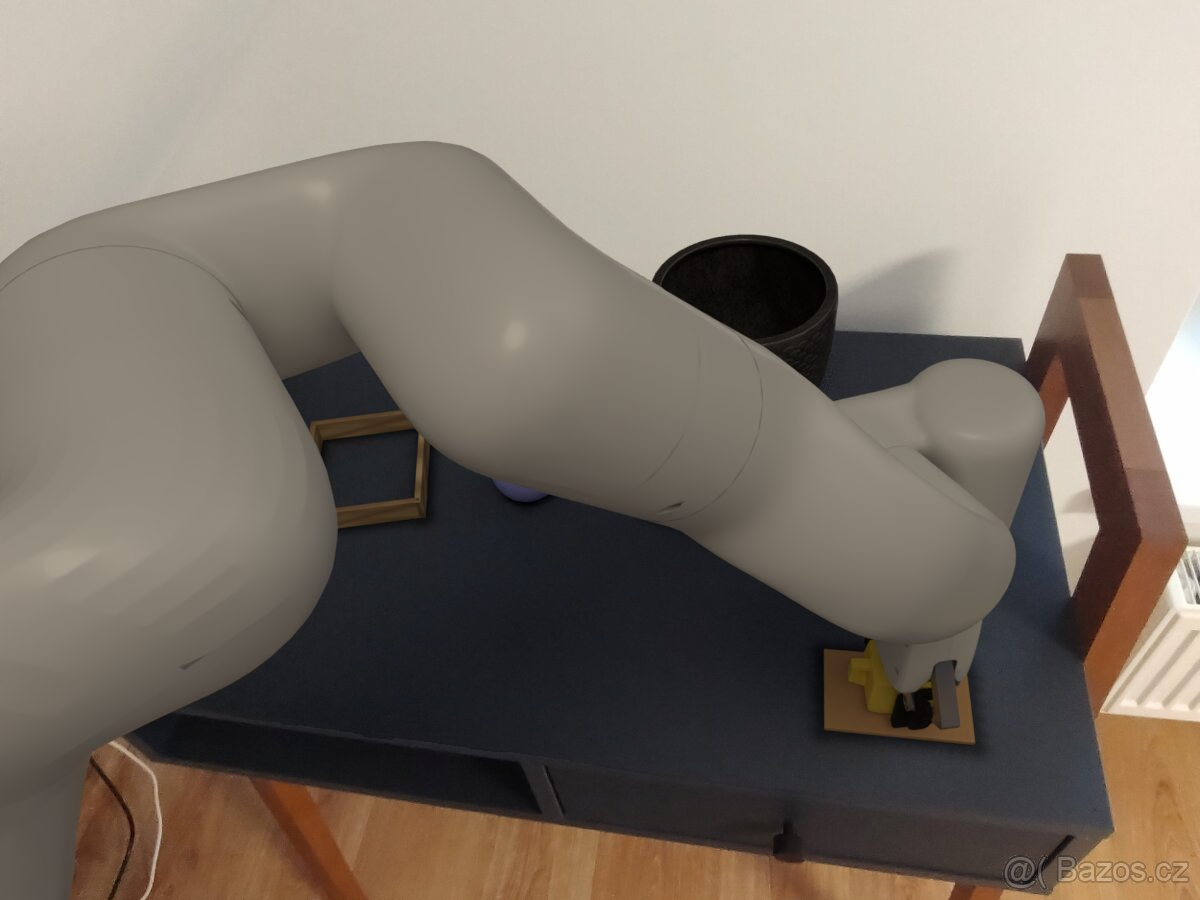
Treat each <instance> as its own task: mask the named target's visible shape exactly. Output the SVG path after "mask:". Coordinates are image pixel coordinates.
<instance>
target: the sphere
mask: <svg viewBox="0 0 1200 900" xmlns="http://www.w3.org/2000/svg"><path fill="white" fill-rule="evenodd" d="M491 480H492V483H493V484H494V486H495V487H496V488H497V489H498V490H499V492H500V493H501V494H502V495H504V496H505V497H507V498H509V499H511V500H513V501H517V502H521V503H527V502H529V503H530V502H536V501H538V500H542V499H543V498H544V497H547V496H549V494H547V493H543V492H539V491H535V490H532V489H528V488H524V487H520V486H517V485H513V484H510V483H506V482H503V481H500V480H496V479H493V478H491Z"/></svg>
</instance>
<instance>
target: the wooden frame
mask: <svg viewBox="0 0 1200 900" xmlns="http://www.w3.org/2000/svg"><path fill="white" fill-rule="evenodd" d="M406 430H416V429H415V428H414V427H413V426H412V424H411V423H410V422H409V421H408V419H407V418H406V417H405V415H404V414H403V413H402V411H401V410H400V409H399V410H398V409H397V410H392V411H384V412H383V411H382V412H376V413H367V414H360V415H353V416H345V417H336V418H328V419H322V420H313V421H311V422H310V427H309V431H310V433H311V435H312V437H313V439H314V441H315V443H316V445H317V447H318V450H319V452H320V455H321V454H322V448H323V443H324V441H328V440H337V439H338V440H339V439H345V438H353V437H360V436H361V437H362V436H367V435H368V436H369V435H376V434H384V433H391V432H400V431H406ZM430 450H431V444H430V443H428V442H427V441H426V440H425V439H424V438H423V437H422V436H421V435H420V434H419V433H418V440H417V454H416V469H415V483H414V497H411V498H402V499H394V500H388V501H387V500H385V501H379V502H370V503H364V504H356V505H355V504H354V505H347V506H340V507H336V512H337V522H338V529H344V528H353V527H361V526H367V525H375V524H381V523H382V524H383V523H391V522H399V521H406V520H414V519H425V518H427V502H428V486H429V485H428V483H429V469H430V468H429V467H430ZM321 456H322V455H321Z"/></svg>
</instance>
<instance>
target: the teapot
mask: <svg viewBox="0 0 1200 900" xmlns="http://www.w3.org/2000/svg"><path fill="white" fill-rule="evenodd" d="M863 652H864V654H863V658H851V661H850V665H849V668H848V681H850V682H853V683H856V684H860V685H863V686H864V690H865V697H866V704H867V709H868V711H871V712H878V713H889V714H892V712H893V708H894V705H895V701H896V698H897V695H898V694H901V693H900V692H898V691H897V690H896V689H895V688H894V687H893V686H892V685H891V683H890V682H889V680H888V677H887V675H886V672H885V670H884V667H883V664H882V661H881V658H880V656H879V653H878V650H877V647H876V644H875V641H874V640H870V641H869V643H868V645H867V647H866V646H865V649H864V651H863ZM924 688H931V682H927V683H925V684H924V685H923V686H922V687H921V688H920V689H924Z"/></svg>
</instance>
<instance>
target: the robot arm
mask: <svg viewBox="0 0 1200 900" xmlns="http://www.w3.org/2000/svg"><path fill="white" fill-rule="evenodd" d="M360 352H361V353H362V355H363V356H364V358H365V360H366V361H367V363H368V364H369V365H370V367H371V369H372V370H373V371H374V373H375V374H376V376H377V377H378V379H379V380H380V383H382V385H383V386H384V388H385V390H386V391H387V393H388V394H389V395H390V397H391V398H392V400H393V401H394V403H395V404H396V406H397V407H398V409H399V410H401V411H402V413H403V414H404V415H405V417H406V418H407V419H408V421H409V422H410V423H411V424H412V426H413V427H414V428H415V429H414V430H415V431H416V432H417V433H418V435H419V434H420V435H421V436H422V437H423V438H424V439H425V440H426V441H427V442H428V443H430V446H432V447H433V448H434V449H435V450H437V452H439V453H441V454H442V455H443V456H444V457H446V458H447V459H449V460H450V461H452V462H454V463H455V464H457V465H459V466H461V467H462V468H465V469H467V470H469V471H471V472H473V473H476V474H478V475H481V476H484V477H487V478H489V479H492V478H493V479H496V480H500V481H503V482H506V483H510V484H513V485H517V486H520V487H524V488H528V489H532V490H535V491H539V492H543V493H547V494H548V495H551V496H554V497H558V498H561V499H565V500H569V501H572V502H577V503H580V504H584V505H588V506H592V507H595V508H599V509H603V510H605V511H609V512H614V513H618V514H621V515H625V516H628V517H632V518H636V519H638V520H641V521H642V520H643V521H646V522H650V523H654V524H657V525H661V526H665V527H669V528H672V529H673V530H677V531H679V532H681V533H683V534H684V535H686V536H688V537H689V538H691V539H692V540H694V542H696V543H697V544H698V545H700V546H701V547H703V548H704V549H706V550H708V552H711V553H712V554H714V555H715V556H716V557H719V558H720V559H721V560H723V561H725V562H726V563H728V564H730V565H732V566H733V567H735V568H737V569H738V570H740V571H742V572H743V573H745V574H748V575H749V576H750V577H752V578H754V579H756V580H757V581H759V582H761V583H763V584H765V585H766V586H768V587H770V588H771V589H773V590H774V591H777V592H779V593H780V594H781V595H783V596H785V597H787V598H788V599H790V600H791V601H793V602H795V603H797V604H799V605H800V606H802V607H803V608H805V609H806V610H808V611H810V612H812V613H813V614H815V615H816V616H819V617H821V618H822V619H824V620H825V621H827V622H829V623H832V624H833V625H835V626H836V627H837V626H838V627H839V628H841V629H843V630H846V631H848V632H850V633H852V634H855V635H857V636H860V637H863V638H864V639H863V641H864V645H865V648H866V647H867V645H868V643H869V641H870V640H874V641H875V644H876V647H877V650H878V653H879V656H880V658H881V661H882V664H883V667H884V670H885V672H886V675H887V677H888V680H889V682H890V683H891V685H892V686H893V687H894V688H895V689H896V690H897V691H898V692H900V693H901V694H898V695H897V698H896V701H895V705H894V708H893V712H892V716H891V719H890V721H891V724H892V727H893V728H902V727H908V729H910V730H920V729H924V728H927V727H928V726H929V725H930V724H932V723H933V724H934V725H935V726H937V727H938V728H939V729H940V730H943V729H951V728H959V727H960V720H959V711H958V703H957V694H956V686H959V685H960V684H961V683H962V681H963V680H964V679H965V677H966V675H967V676H968V673H969V671H970V668H971V666H972V663H973V660H974V658H975V654H976V650H977V647H978V642H979V639H980V635H981V630H982V625H983V620H984V619H985V617H986V616H987V615H989V614H990V613H991V612H992V611H993V610H994V608H995V607H996V606H997V605H998V604H999V602H1000V601H1002V600H1001V599H1002V598H1003V597H1004V595H1005V593H1006V592H1007V590H1008V588H1009V587H1010V583H1011V581H1012V579H1013V576H1014V572H1015V568H1016V563H1017V562H1016V561H1017V551H1016V544H1015V540H1014V538H1013V534H1012V532H1011V527H1012V525H1013V520H1014V519H1015V515H1016V513H1017V509H1018V507H1019V504H1020V501H1021V498H1022V496H1023V493H1024V490H1025V487H1026V484H1027V481H1028V479H1029V476H1030V473H1031V471H1032V468H1033V466H1034V462H1035V460H1036V457H1037V455H1038V452H1039V449H1040V446H1041V444H1042V441H1043V436H1044V433H1045V430H1046V411H1045V406H1044V402H1043V400H1042V398H1041V396H1040V394H1039V392H1038V391H1037V390H1036V388H1035V387H1034V385H1033V384H1032V383H1031V382H1030V381H1029V380H1027V378H1025V377H1024V376H1023V375H1021V374H1020V373H1018V372H1017V371H1015V370H1013V369H1011V368H1009V367H1008V366H1006V365H1003V364H1000V363H997V362H994V361H989V360H985V359H981V358H980V359H979V358H963V357H962V358H961V357H960V358H953V359H947V360H941V361H939V362H937V363H934V364H931V365H929V366H928V367H926V368H924V369H923V370H922V371H920V372H919V373H918V374H917V375H916V376H914V378H913V379H912V380H910V381H909V382H907V383H903V384H899V385H895V386H892V387H888V388H885V389H881V390H877V391H872V392H869V393H864V394H859V395H855V396H850V397H845V398H840V399H837V400H832V399H831V398H830V397H828V395H827V394H826V393H824V392H823V391H822V390H821V389H820V388H819V389H818V388H817V387H816V386H815V385H813V384H812V383H811V382H810V381H808V380H807V379H806V378H805V377H803V376H802V375H801V374H800V373H798V372H797V371H796V370H794V369H793V368H792V367H791V366H789V365H788V364H787V363H785V362H784V361H783V360H782V359H780V358H779V357H778V356H776V355H775V354H773V353H772V352H771V351H769V350H768V349H767V348H765V347H763V346H762V345H760V344H758V343H756V342H754V341H753V340H751V339H749V338H747V337H746V336H744V335H742V334H740V333H739V332H737V331H735V330H733V329H732V328H730V327H728V326H727V325H725V324H723V323H721V322H719V321H717V320H715V319H713V318H712V317H710V316H708V315H707V314H705V313H703V312H702V311H700V310H698V309H696V308H695V307H693V306H691V305H690V304H688V303H686V302H684V301H683V300H681V299H679V298H678V297H676V296H674V295H672V294H671V293H669V292H667V291H666V290H664V289H663V288H662V287H660V286H659V285H657V284H655V283H654V282H652V280H650V279H649V278H647V277H645V276H644V275H641V274H640V273H638V272H636V271H635V270H634V269H631V268H630V267H628V266H626V265H625V264H623V263H621V262H620V261H618V260H616V259H615V258H613V257H611V256H609V255H608V254H606V253H605V252H603V251H602V250H601V249H599V248H598V247H596V246H595V245H593V244H592V243H591V242H589V241H587V240H586V239H585V238H583V237H582V236H581V235H580V234H578V233H576V232H575V231H574V230H572V229H571V228H570V227H568V226H567V225H566V224H565V223H564V222H562V220H560V218H558V217H557V216H556V215H555V214H553V212H551V211H550V210H549V209H548V208H547V207H545V206H544V205H543V204H542V203H541V202H540V201H539V200H538V199H537V198H535V196H533V195H532V193H530V192H529V191H528V190H527V189H526V188H525V187H523V186H522V185H521V184H520V183H519V182H518V181H517V180H515V179H514V177H512V175H510V174H509V173H508V172H507V171H506V170H504V169H503V168H502V167H501V166H500V165H498V163H496V162H495V161H494V160H492V159H491V158H489V157H488V156H486V154H483V153H480V152H478V151H476V150H473V149H472V148H470V147H467V146H465V145H461V144H456V143H450V142H444V141H438V140H437V141H436V140H435V141H434V140H414V141H413V140H412V141H404V142H392V143H383V144H374V145H369V146H363V147H358V148H353V149H348V150H347V149H346V150H343V151H342V150H341V151H337V152H333V153H328V154H324V155H318V156H316V157H315V156H314V157H310V158H306V159H302V160H297V161H294V162H289V163H285V164H280V165H277V166H273V167H269V168H265V169H260V170H257V171H253V172H249V173H245V174H241V175H236V176H233V177H229V178H223V179H220V180H217V181H212V182H207V183H204V184H200V185H199V184H198V185H195V186H192V187H187V188H183V189H180V190H175V191H171V192H167V193H163V194H159V195H158V194H157V195H155V196H151V197H146V198H142V199H138V200H134V201H129V202H126V203H121V204H118V205H114V206H111V207H107V208H103V209H100V210H97V211H93V212H89V213H85V214H83V215H80V216H77V217H74V218H72V219H70V220H69V219H68V220H67V221H65V222H63V223H60V224H59V225H56V226H54V227H52V228H50V229H47V230H45V231H43V232H41V233H39V234H37V235H35V236H33V237H32V238H29V239H28V240H27V241H26V242H24V243H23V244H21V246H19V247H17V248H16V249H15V250H14V251H13V252H11V253H10V254H9V255H8V256H6V257H5V258H4V259H3V260H2V261H0V900H70V899H71V895H72V889H73V882H74V875H75V869H76V857H77V856H76V854H77V840H78V839H77V837H78V830H79V824H80V818H81V817H80V816H81V812H82V811H81V809H82V803H83V795H84V790H85V783H86V782H85V781H86V776H87V772H88V768H89V765H90V761H91V757H92V754H93V753H94V752H95V751H97V750H98V749H100V748H102V747H104V746H106V745H108V744H110V743H111V742H114V741H115V740H117V739H119V738H122V737H123V736H126V735H127V734H129V733H131V732H133V731H135V730H137V729H140V728H141V727H144V726H146V725H147V724H149V723H151V722H153V721H156V720H158V719H160V718H162V717H164V716H166V715H169V714H171V713H173V712H175V711H177V710H179V709H181V708H182V709H183V708H184V707H186V706H188V705H190V704H192V703H194V702H197V701H199V700H201V699H203V698H205V697H207V696H208V697H209V696H210V695H213V694H214V693H216V692H218V691H220V690H223V689H224V688H226V687H228V686H229V685H232V684H234V683H235V682H236V681H238V680H240V679H242V678H243V677H245V676H247V675H248V674H250V673H251V672H253V671H254V670H255V669H257V668H258V667H260V666H261V665H262V664H264V662H266V661H268V660H269V659H270V658H271V657H272V656H274V655H275V654H276V653H277V652H278V651H279V650H280V649H281V648H283V646H284V645H286V644H287V643H288V642H289V641H290V640H291V639H292V638H293V636H294V635H296V633H297V632H298V631H299V629H300V628H301V627H302V626H303V625H304V624H305V623H306V622H307V620H308V618H309V617H311V614H312V613H313V611H314V609H315V608H316V606H317V604H318V603H319V600H320V598H321V596H322V594H323V593H324V590H325V589H326V587H327V584H328V583H329V580H330V577H331V574H332V571H333V569H334V564H335V558H336V551H337V544H338V533H339V531H338V529H339V528H338V522H337V512H336V508H337V506H336V503H335V498H334V494H333V490H332V486H331V481H330V478H329V474H328V470H327V467H326V465H325V463H324V459H323V458H322V455H320V452H319V450H318V447H317V445H316V443H315V441H314V439H313V437H312V435H311V433H310V429H309V428H308V426H307V424H306V422H305V420H304V418H303V416H302V415H301V413H300V411H299V409H298V407H297V405H296V404H295V402H294V400H293V398H292V396H291V395H290V393H289V391H288V390H287V388H286V386H285V384H284V382H283V381H284V380H287V379H289V378H290V379H291V378H294V377H296V376H299V375H301V374H304V373H307V372H309V371H312V370H315V369H317V368H321V367H323V366H326V365H329V364H332V363H335V362H337V361H340V360H343V359H345V358H348V357H351V356H353V355H355V354H357V353H360ZM927 682H931V688H924V689H920V688H921V687H922V686H923V685H924V684H925V683H927Z"/></svg>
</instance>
